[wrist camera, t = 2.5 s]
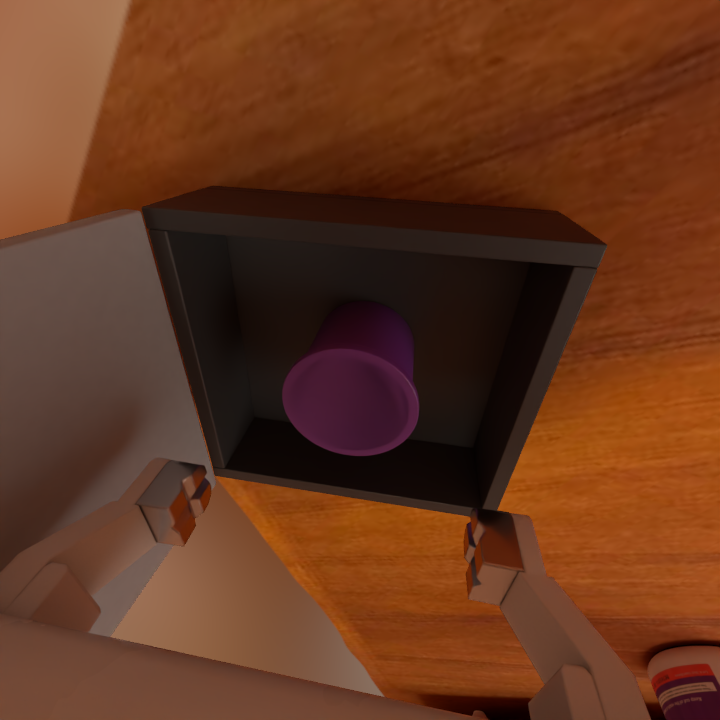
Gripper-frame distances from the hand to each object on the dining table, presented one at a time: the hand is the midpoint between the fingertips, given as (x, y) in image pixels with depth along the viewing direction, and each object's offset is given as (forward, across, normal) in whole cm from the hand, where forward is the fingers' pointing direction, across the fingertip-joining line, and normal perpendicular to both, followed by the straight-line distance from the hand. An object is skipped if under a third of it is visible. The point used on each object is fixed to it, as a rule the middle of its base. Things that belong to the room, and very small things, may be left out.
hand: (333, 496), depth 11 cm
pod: (+9, 0, 0) cm, 9 cm away
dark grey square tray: (+9, 0, 0) cm, 9 cm away
